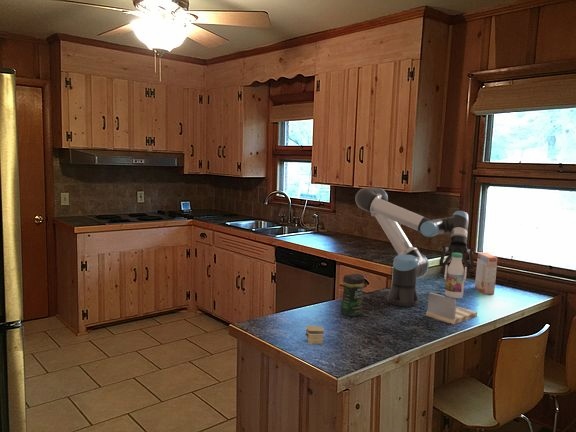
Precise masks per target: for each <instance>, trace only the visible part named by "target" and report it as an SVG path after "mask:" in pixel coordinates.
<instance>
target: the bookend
mask: <svg viewBox="0 0 576 432" xmlns="http://www.w3.org/2000/svg"><path fill="white" fill-rule="evenodd" d="M457 299H458V298H452V297H448V296H446V295H441V294H438V293H435V292H431V291H430V292H428V298H427V312H430V313H433V314H436V315H439V316H442V317H446V318H449V319H452V320H454V319H455V312H456V306H457Z"/></svg>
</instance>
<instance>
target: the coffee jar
mask: <svg viewBox="0 0 576 432" xmlns="http://www.w3.org/2000/svg"><path fill="white" fill-rule="evenodd" d="M342 286H343V292H342V293H343V294H342V300H341V306H340V313H341V314H342V315H343V316H345V317H356V316H357V317H358V316H360V315H362V314H363V291H364V289H363V288H364V286H365V276H364V275H362V274H360V273H352V274H346V275H345V274H344V276H343V279H342Z"/></svg>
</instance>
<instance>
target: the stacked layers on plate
mask: <svg viewBox="0 0 576 432" xmlns="http://www.w3.org/2000/svg"><path fill="white" fill-rule="evenodd" d="M305 328H306V329H305V330H304V331H305V335H304V337H306V339H307V343H308V344H309V345H312V344H320V345H322V344H323V341H324V335H325V333H324V331H325V328H324V327H323V326H318V325H317V326H316V325H309V324H308V325H305Z"/></svg>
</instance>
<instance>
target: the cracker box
mask: <svg viewBox="0 0 576 432" xmlns="http://www.w3.org/2000/svg"><path fill="white" fill-rule="evenodd" d="M498 259H499V258H498V257H497V256H495V255H493V254H490V253H487V252H477V259H476V260H477V261H476V270H475V281H474V282H475V283H474V288H475V289H476V290H478V291H479V292H481V293H482V294H484V295H495V288H496V277H497V268H498Z"/></svg>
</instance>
